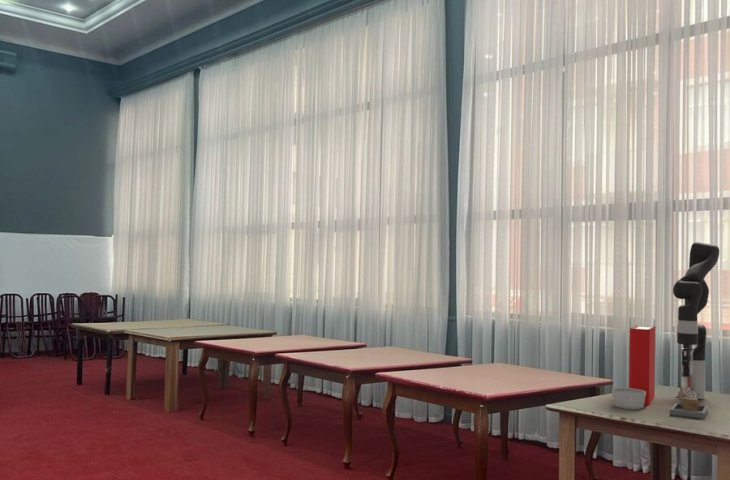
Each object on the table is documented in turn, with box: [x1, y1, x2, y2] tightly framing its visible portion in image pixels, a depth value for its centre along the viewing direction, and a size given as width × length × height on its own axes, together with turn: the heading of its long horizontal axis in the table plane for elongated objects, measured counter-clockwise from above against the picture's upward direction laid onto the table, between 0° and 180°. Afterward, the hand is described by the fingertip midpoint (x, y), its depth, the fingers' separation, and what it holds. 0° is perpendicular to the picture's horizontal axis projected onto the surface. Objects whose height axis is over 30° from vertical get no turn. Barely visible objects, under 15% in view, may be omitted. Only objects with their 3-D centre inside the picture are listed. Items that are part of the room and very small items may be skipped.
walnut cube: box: [683, 397, 699, 412], centre depth 286 cm, size 5×5×5 cm
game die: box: [675, 386, 700, 403], centre depth 303 cm, size 9×8×10 cm
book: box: [628, 324, 656, 407], centre depth 312 cm, size 27×8×32 cm, turn 153°
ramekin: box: [611, 387, 646, 410], centre depth 295 cm, size 13×13×7 cm
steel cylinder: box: [681, 361, 693, 378], centre depth 281 cm, size 4×4×6 cm
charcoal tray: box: [669, 402, 709, 421], centre depth 283 cm, size 18×12×2 cm, turn 149°
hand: (687, 375), depth 281 cm, fingers closed on steel cylinder, 4 cm apart
